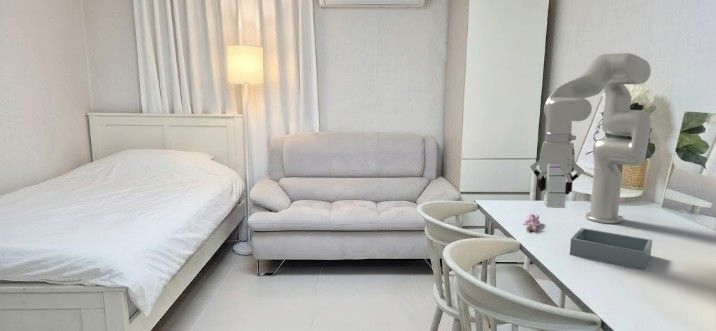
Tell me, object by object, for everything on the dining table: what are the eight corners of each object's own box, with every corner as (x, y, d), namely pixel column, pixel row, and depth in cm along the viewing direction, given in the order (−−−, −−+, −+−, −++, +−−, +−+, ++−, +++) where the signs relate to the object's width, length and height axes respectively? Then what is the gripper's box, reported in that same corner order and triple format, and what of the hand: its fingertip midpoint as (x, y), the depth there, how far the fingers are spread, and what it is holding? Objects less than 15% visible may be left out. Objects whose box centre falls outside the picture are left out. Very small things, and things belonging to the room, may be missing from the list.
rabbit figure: (540, 237, 164) (542, 219, 177) (541, 222, 162) (543, 205, 175) (521, 235, 167) (524, 218, 180) (522, 220, 165) (525, 203, 178)
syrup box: (565, 208, 150) (568, 164, 147) (546, 207, 151) (548, 163, 149) (561, 203, 156) (564, 160, 153) (542, 202, 157) (545, 160, 154)
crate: (580, 242, 155) (581, 227, 154) (650, 255, 143) (652, 239, 142) (569, 254, 144) (570, 238, 143) (644, 269, 132) (646, 252, 131)
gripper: (590, 138, 147) (586, 193, 150) (533, 135, 157) (531, 186, 161) (584, 141, 141) (580, 198, 145) (526, 138, 152) (524, 191, 155)
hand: (554, 191), depth 153 cm, fingers closed on syrup box, 7 cm apart
